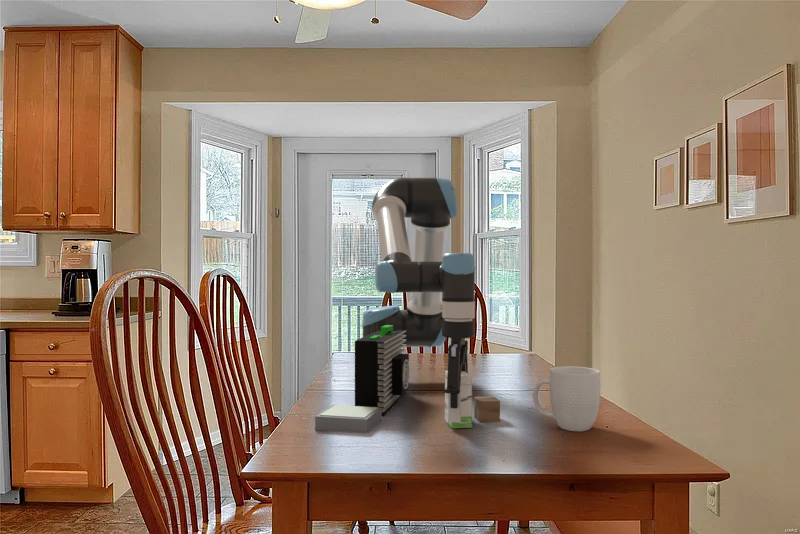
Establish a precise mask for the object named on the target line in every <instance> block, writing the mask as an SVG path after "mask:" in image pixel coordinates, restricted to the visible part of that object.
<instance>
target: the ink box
mask: <svg viewBox="0 0 800 534" xmlns="http://www.w3.org/2000/svg"><path fill="white" fill-rule="evenodd" d="M447 375H448V370H445V371H444V391H445V390H446V389H447ZM472 378H473V377H472V375H470V374H469V373H468V374H467V373H466V372H465V371H461V381H460V393H461V423H454V422H448V393H445V392H444V421H445V422H446V423H447V424H448V426H450V428H451V429H465V428H466V429H469V428H473V384H472V383H473V382H472V381H473V379H472ZM452 387H456V386H452Z"/></svg>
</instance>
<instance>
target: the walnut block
mask: <svg viewBox="0 0 800 534" xmlns="http://www.w3.org/2000/svg"><path fill="white" fill-rule="evenodd" d="M473 402H474V404H473V405H474V408H473V409H474V410H473V415H474V416H473V417H475V418H476V419H477V420H478V421H479V422H478V421H477V420H476V419H475V418H474V419H475V420H476V421H477V422H478V423H500V422H501V400H500V399H499V398H497V397H496V396H474V400H473Z"/></svg>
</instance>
